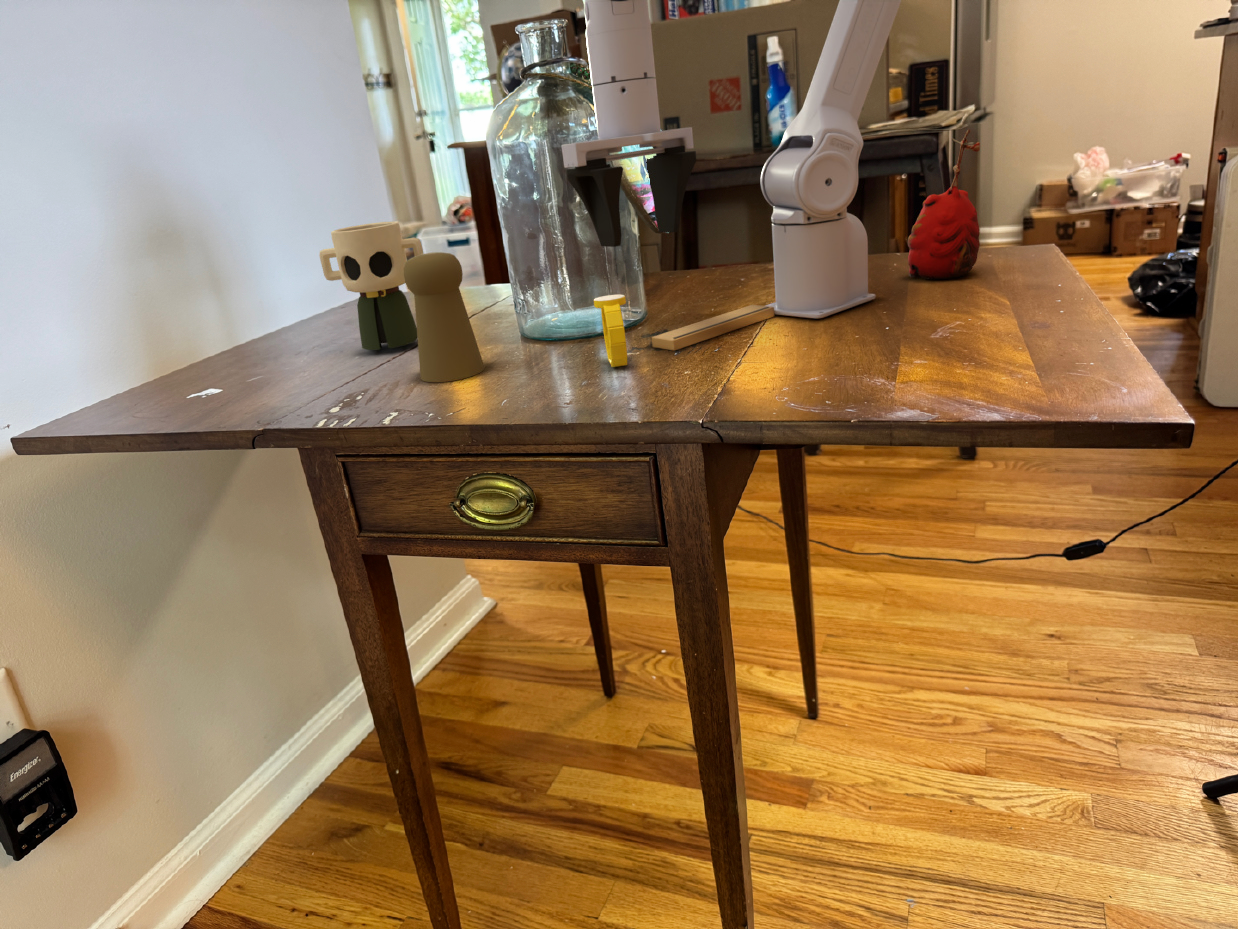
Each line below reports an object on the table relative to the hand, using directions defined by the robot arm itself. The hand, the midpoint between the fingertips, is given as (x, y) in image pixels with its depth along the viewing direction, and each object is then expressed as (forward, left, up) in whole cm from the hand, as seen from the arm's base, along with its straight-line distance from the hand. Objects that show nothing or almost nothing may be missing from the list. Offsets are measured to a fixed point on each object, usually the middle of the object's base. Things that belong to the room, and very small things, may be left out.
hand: (640, 238), depth 80 cm
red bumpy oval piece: (-33, +12, -10) cm, 36 cm away
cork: (+18, -8, -10) cm, 22 cm away
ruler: (-4, +5, -9) cm, 11 cm away
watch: (+9, +5, -10) cm, 14 cm away
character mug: (+16, -25, -10) cm, 31 cm away
